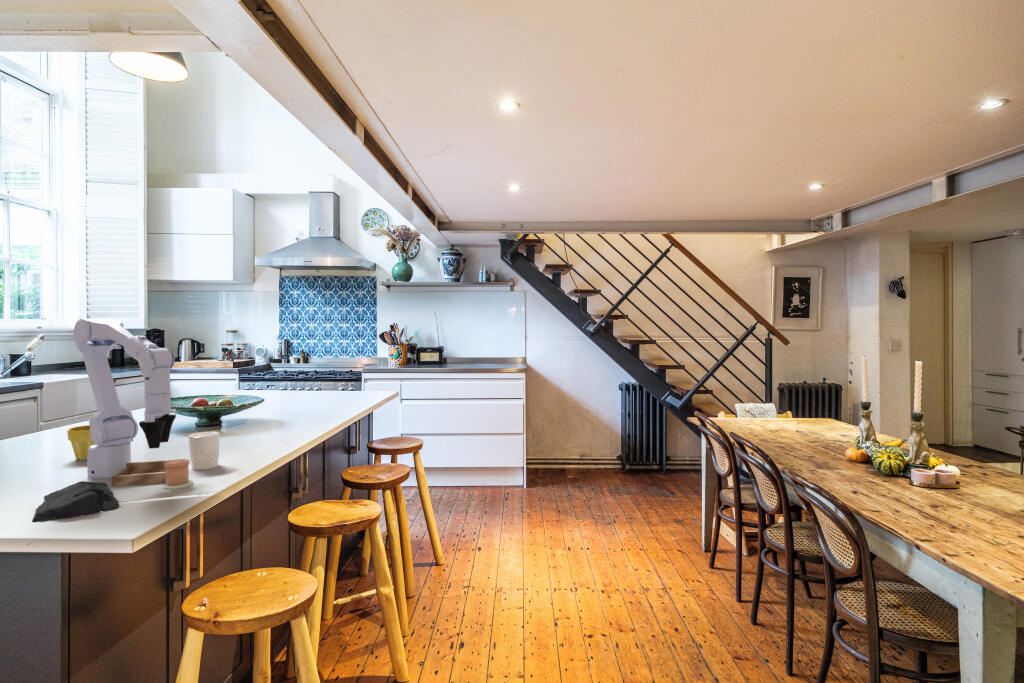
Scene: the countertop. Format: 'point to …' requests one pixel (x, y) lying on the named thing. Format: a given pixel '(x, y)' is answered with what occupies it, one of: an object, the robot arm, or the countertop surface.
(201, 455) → the white cup
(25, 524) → the countertop surface
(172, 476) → the tan bell-shaped knob
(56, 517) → the dark slate chunk
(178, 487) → the saucer
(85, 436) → the plant pot
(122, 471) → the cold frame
